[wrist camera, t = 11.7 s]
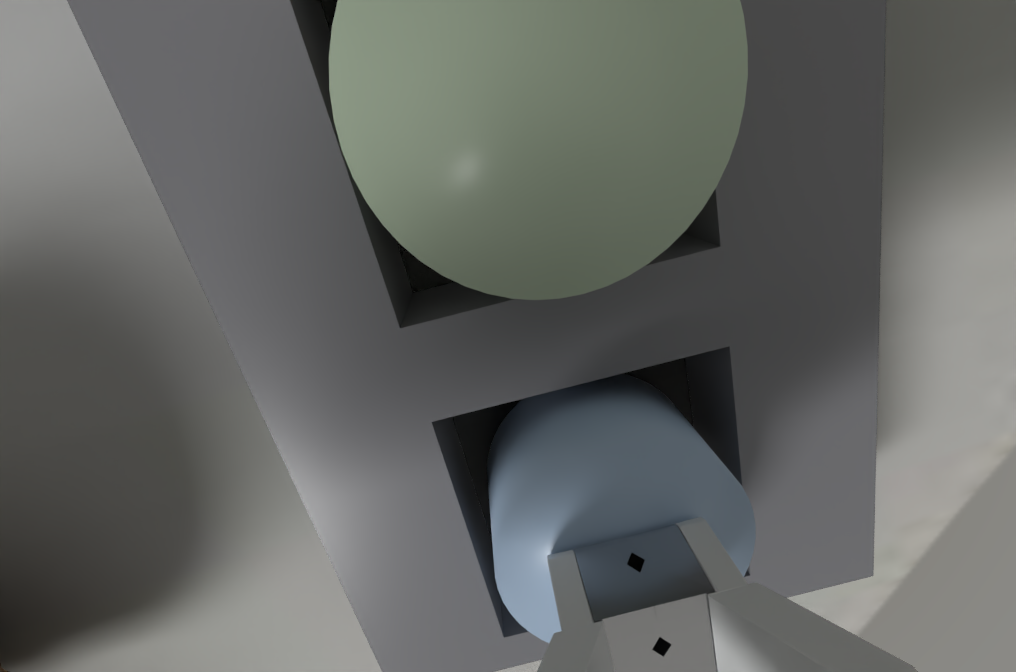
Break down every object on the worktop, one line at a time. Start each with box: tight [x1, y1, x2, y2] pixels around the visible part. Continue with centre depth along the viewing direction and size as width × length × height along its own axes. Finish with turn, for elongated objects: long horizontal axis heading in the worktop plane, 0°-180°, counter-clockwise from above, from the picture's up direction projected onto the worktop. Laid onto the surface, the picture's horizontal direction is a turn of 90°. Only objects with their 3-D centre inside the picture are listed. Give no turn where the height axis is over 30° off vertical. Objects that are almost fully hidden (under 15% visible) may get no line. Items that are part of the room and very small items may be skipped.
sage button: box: [329, 0, 748, 300], centre depth 7 cm, size 5×5×3 cm
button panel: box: [67, 0, 886, 672], centre depth 9 cm, size 24×12×2 cm, turn 14°
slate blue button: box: [487, 374, 756, 643], centre depth 11 cm, size 5×5×3 cm
